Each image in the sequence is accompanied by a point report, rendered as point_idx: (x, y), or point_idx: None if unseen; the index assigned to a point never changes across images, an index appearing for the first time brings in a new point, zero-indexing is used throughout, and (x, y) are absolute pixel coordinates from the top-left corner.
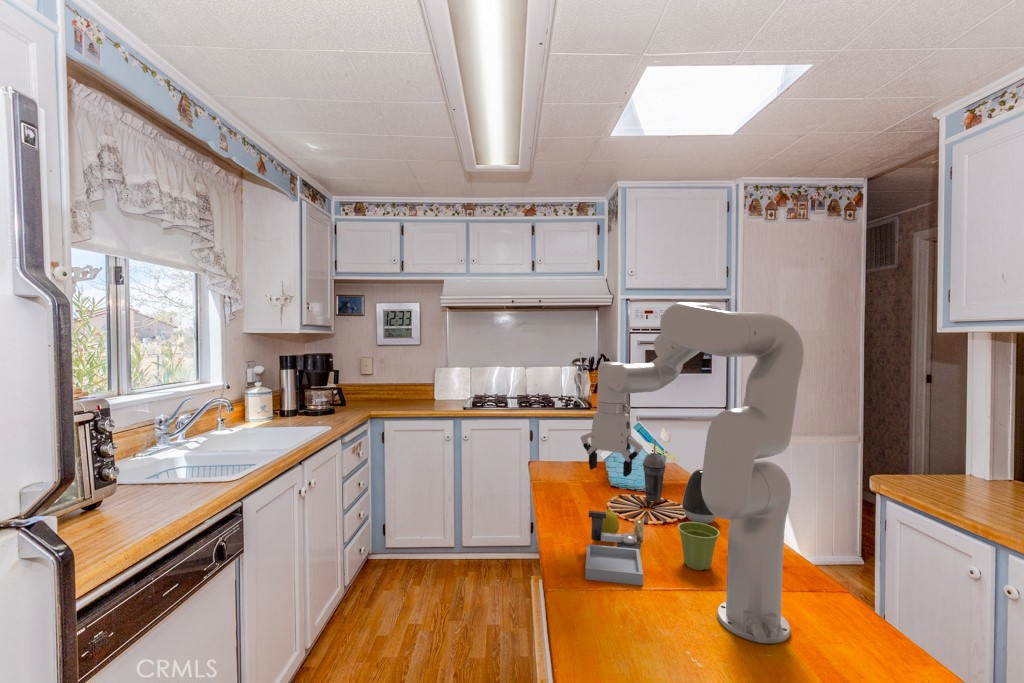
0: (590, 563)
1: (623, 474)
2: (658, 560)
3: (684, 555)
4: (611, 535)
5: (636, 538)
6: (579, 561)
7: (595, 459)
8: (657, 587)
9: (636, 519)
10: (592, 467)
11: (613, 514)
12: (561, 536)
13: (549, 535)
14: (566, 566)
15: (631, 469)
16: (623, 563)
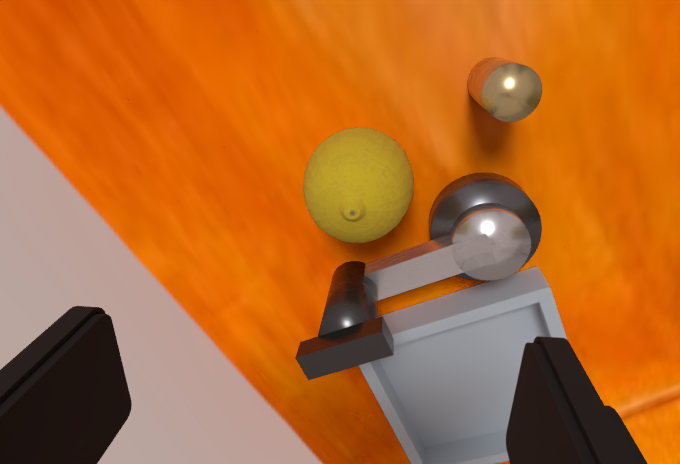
0: (398, 392)
1: (512, 457)
2: (615, 233)
3: None
4: (417, 280)
5: (530, 246)
6: (355, 376)
7: (49, 428)
8: (632, 402)
9: (492, 76)
10: (120, 419)
11: (387, 214)
12: (199, 249)
13: (161, 265)
14: (338, 417)
15: (621, 433)
16: (498, 343)
